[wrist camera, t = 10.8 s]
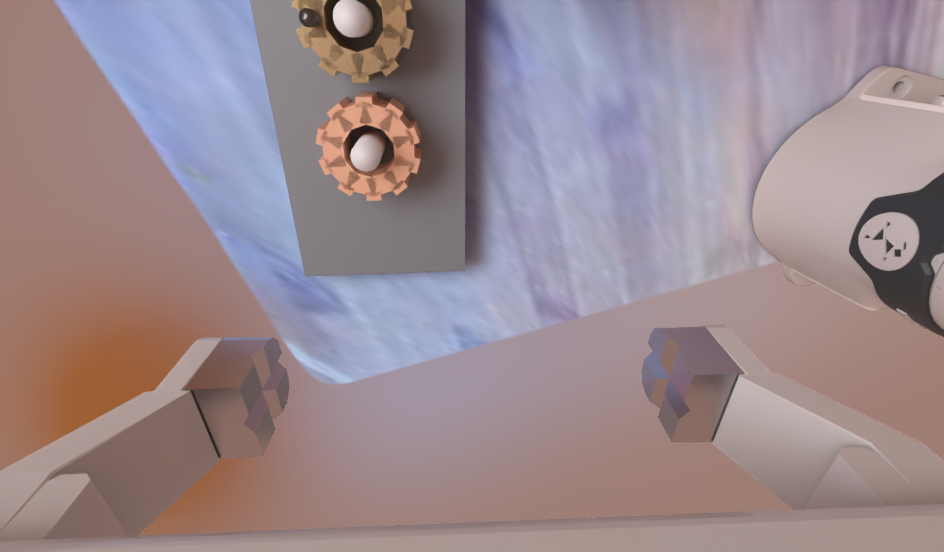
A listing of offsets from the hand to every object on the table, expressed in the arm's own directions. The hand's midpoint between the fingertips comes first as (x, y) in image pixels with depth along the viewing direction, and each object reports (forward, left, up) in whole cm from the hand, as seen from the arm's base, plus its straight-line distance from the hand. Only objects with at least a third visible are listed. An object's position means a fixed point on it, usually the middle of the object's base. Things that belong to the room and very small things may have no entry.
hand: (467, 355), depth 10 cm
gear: (+5, -7, -25) cm, 26 cm away
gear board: (+5, 0, -27) cm, 27 cm away
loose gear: (+5, +1, -25) cm, 25 cm away
